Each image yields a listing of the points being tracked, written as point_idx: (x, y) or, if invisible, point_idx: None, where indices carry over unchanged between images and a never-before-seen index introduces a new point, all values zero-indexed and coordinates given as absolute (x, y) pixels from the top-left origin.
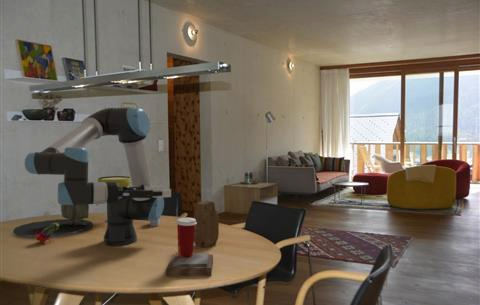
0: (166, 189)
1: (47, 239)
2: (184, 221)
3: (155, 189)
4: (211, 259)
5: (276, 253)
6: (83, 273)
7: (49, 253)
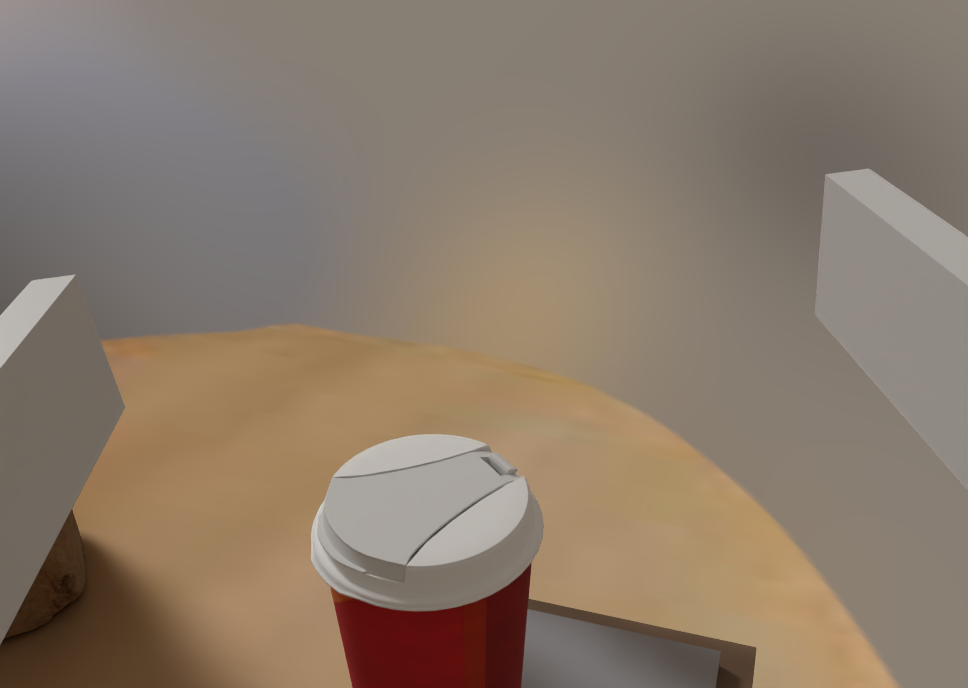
0: (892, 203)
1: None
2: (501, 522)
3: (48, 404)
4: (553, 609)
5: (432, 345)
6: None
7: None
